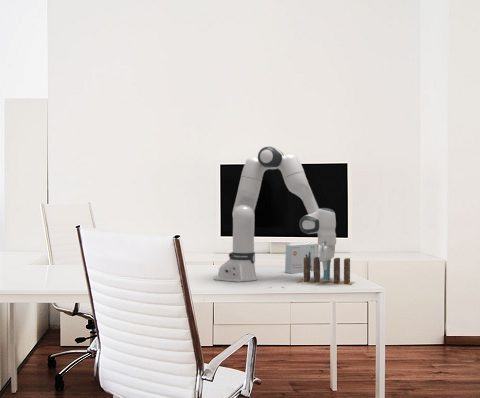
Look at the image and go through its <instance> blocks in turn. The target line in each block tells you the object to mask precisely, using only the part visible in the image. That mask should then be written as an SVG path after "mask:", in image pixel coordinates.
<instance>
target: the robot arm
mask: <svg viewBox="0 0 480 398" xmlns="http://www.w3.org/2000/svg"><path fill="white" fill-rule="evenodd" d="M274 170H279V171H280V172H281V175H282V179H283V181H284V184H285V186H286V188H287V189H288V191H289V192H291V193H292V194H294V195H295V196H297V197H298V198H300V199H301V201H302V203H303V205H304V207H305V210H306V212H307V214H306V215H303V216H302V217H301V218H300V219H299V222H298V223H299V224H298V225H299V228H300V231H301V232H302V233H304V234H306V235H311V234H317V243H318V245H319V261H320V263H322V269H323V271H324V270H327V261H328V260H330V264H331V262H332V259H334V258H335V251H336V245H337V233H336V227H337V221H336V220H337V219H336V213H335V211H334V210H333V209H331V208H327V207H321V208H320V206H319V205H318V202H317V199H316V197H315V194H314V193H313V190H312V188H311V186H310V184H309V180H308V179H307V177H306V173H305V170H304V168H303V165H302V163H301V161H300V160H299V158H298V156H297V155H296V154H291V153H289V154H287V155H284V153H283V151H281V150H279V149H278V148H276V147H273V146H264V147H262V148H261V149H259V151H258V153H257V157H255V156H252V157H248V158H247V159H246V160H245V162H244V165H243V168H242V171H241V175H240V180H239V184H238V188H237V193H236V197H235V201H234V204H233V208H232V251H231V252H230V253H228V258H229V259H228V260H226V261H225V262H224V263H223V264H222V265H220V267H219V268H218V272H217V273H218V274H217V275H215V276H214V277H213V281H225V282H235V283H236V282H237V283H240V282H250V281H251V282H252V281H256V280H257V279H258V277H257V273H256V266H255V265H256V263H255V262H256V252H255V221H256V220H255V210H256V206H257V202H258V199H259V196H260V195H259V194H260V191H261V187H262V181H263V177H264V173H265V172H266V171H274Z"/></svg>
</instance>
